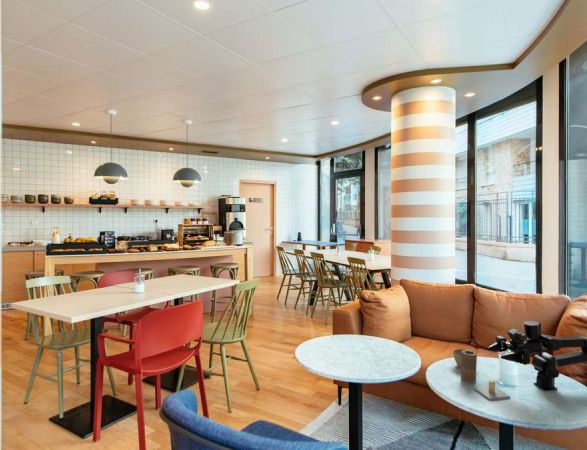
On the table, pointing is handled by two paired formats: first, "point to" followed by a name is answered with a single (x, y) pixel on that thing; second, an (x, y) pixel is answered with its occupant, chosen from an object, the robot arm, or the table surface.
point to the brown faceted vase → (468, 366)
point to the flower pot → (458, 356)
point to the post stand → (491, 391)
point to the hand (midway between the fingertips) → (494, 352)
